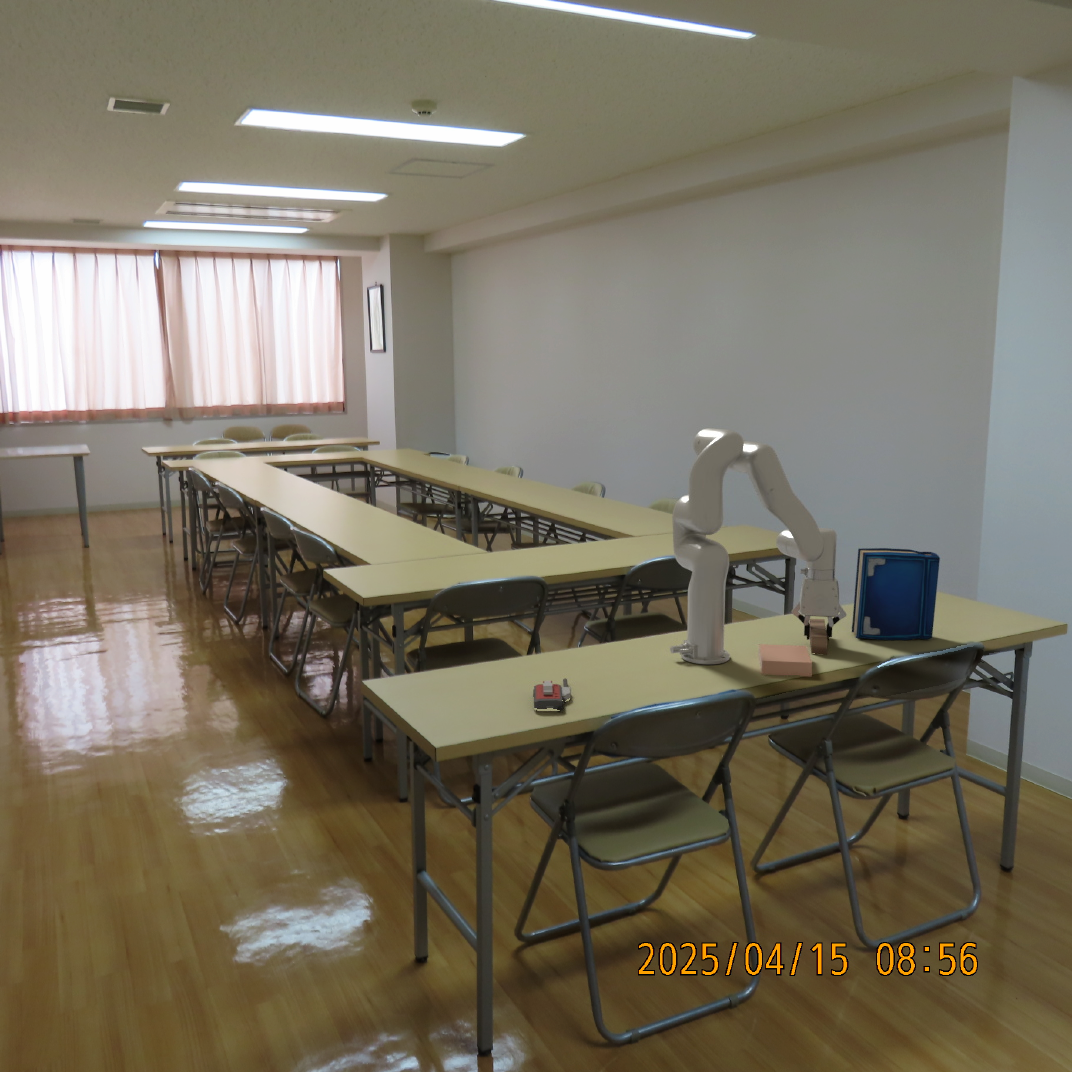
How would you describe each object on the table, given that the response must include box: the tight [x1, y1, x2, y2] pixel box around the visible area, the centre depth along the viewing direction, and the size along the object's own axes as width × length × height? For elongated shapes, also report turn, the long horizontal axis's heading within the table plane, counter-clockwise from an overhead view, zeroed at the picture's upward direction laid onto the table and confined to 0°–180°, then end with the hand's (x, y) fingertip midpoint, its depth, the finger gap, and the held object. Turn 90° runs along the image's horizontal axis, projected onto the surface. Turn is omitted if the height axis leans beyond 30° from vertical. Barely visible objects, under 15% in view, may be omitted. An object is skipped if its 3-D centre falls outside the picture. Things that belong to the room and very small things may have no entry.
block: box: [809, 618, 828, 656], centre depth 253 cm, size 18×4×5 cm, turn 165°
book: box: [851, 547, 941, 641], centre depth 257 cm, size 22×7×25 cm, turn 84°
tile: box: [758, 643, 813, 677], centre depth 236 cm, size 4×12×14 cm
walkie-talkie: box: [532, 678, 572, 712], centre depth 216 cm, size 9×4×20 cm
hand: (817, 638), depth 253 cm, fingers open, 4 cm apart
